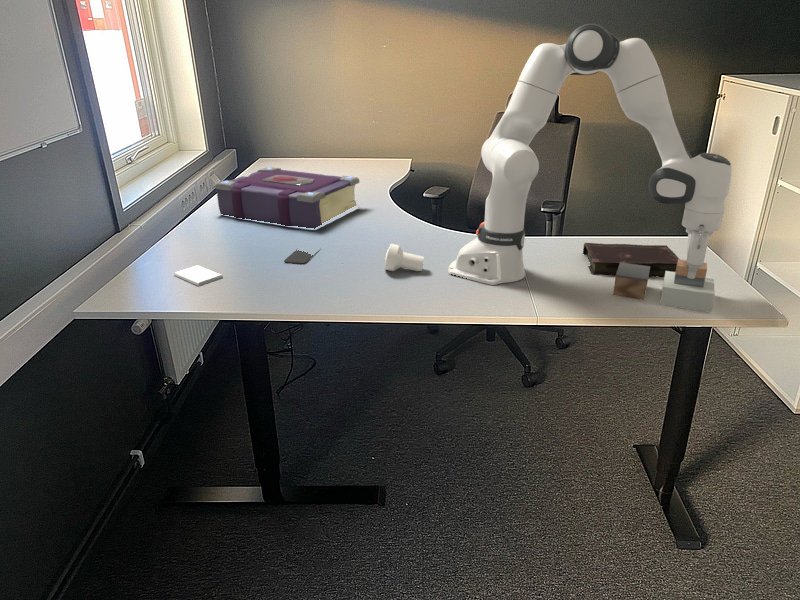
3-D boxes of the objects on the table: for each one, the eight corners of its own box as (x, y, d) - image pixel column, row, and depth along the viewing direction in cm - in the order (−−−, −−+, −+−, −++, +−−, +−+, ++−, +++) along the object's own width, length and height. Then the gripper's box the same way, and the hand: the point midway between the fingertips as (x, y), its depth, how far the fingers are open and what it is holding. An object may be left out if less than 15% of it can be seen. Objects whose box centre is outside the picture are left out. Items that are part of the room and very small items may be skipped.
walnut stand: (612, 295, 164) (615, 274, 162) (616, 282, 173) (619, 262, 170) (644, 300, 161) (647, 279, 159) (646, 286, 170) (650, 266, 167)
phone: (321, 247, 200) (305, 263, 186) (321, 249, 200) (305, 265, 187) (300, 245, 201) (282, 261, 188) (300, 248, 202) (282, 263, 188)
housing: (703, 287, 156) (707, 268, 154) (673, 283, 159) (677, 264, 157) (703, 280, 161) (707, 261, 158) (674, 276, 163) (678, 257, 161)
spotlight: (385, 260, 186) (390, 237, 181) (422, 268, 186) (427, 246, 181) (381, 274, 180) (385, 251, 175) (418, 283, 180) (424, 260, 175)
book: (312, 233, 215) (310, 194, 209) (215, 217, 233) (210, 181, 227) (360, 209, 241) (359, 174, 236) (269, 196, 260) (266, 163, 254)
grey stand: (659, 304, 159) (663, 286, 157) (662, 287, 169) (665, 270, 167) (710, 312, 155) (714, 294, 153) (709, 294, 165) (713, 277, 162)
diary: (582, 255, 194) (584, 240, 192) (663, 258, 191) (666, 243, 189) (591, 277, 177) (593, 261, 175) (681, 280, 174) (684, 264, 172)
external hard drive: (198, 288, 172) (174, 277, 180) (223, 279, 178) (198, 269, 185) (197, 282, 172) (173, 272, 179) (222, 274, 177) (198, 264, 185)
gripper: (716, 233, 143) (704, 287, 149) (715, 210, 160) (704, 260, 166) (687, 230, 145) (676, 283, 151) (688, 208, 162) (679, 256, 168)
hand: (691, 271), depth 159 cm, fingers open, 8 cm apart
